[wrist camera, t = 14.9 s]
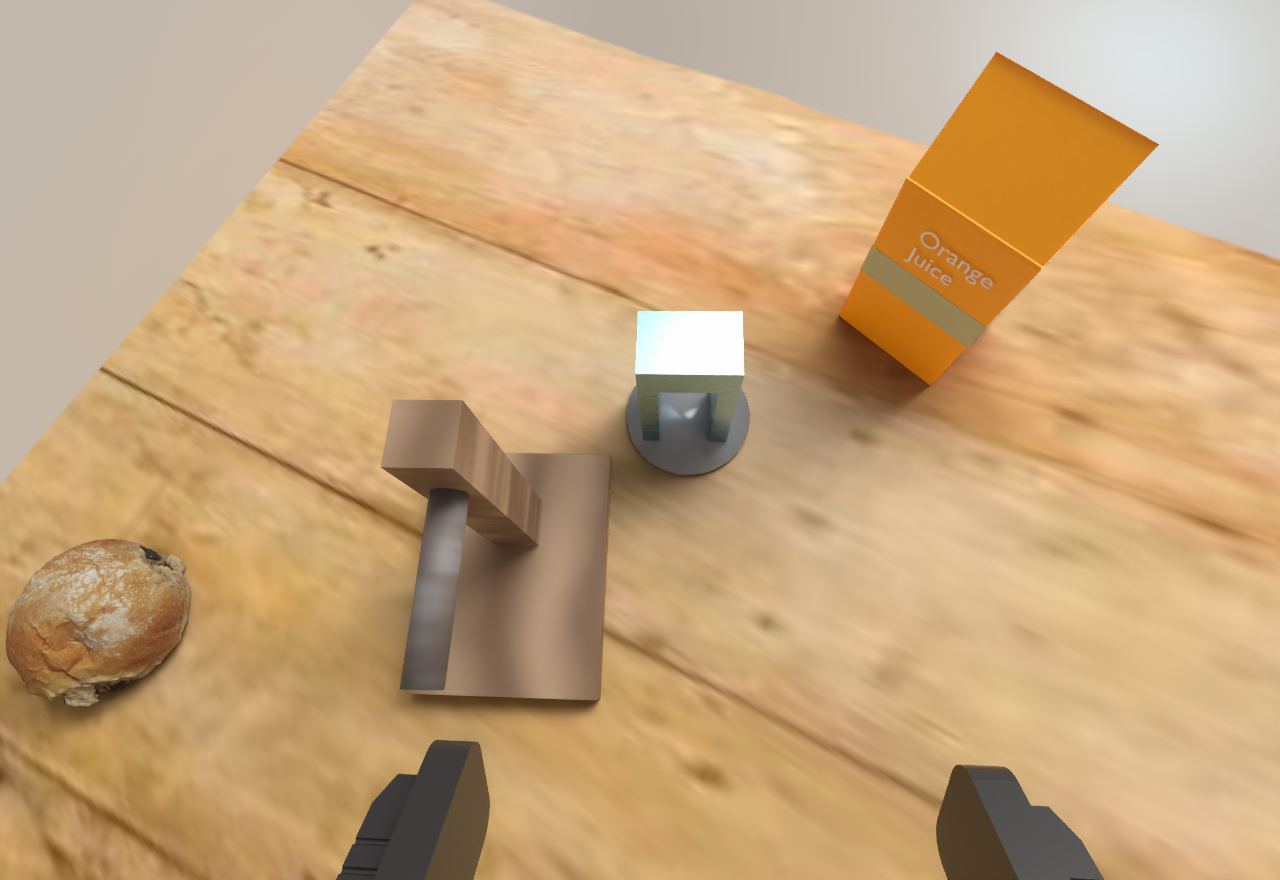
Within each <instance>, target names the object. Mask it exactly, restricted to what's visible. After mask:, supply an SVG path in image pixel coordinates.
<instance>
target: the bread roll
mask: <svg viewBox="0 0 1280 880" xmlns="http://www.w3.org/2000/svg"><path fill="white" fill-rule="evenodd" d="M185 569H186V567H185V565H184V564H183V563H182V561H181V560H180V559H179V558H178V557H176V556H174V555H172V554H170V555H169V557H168V558H166V557H164V556H163V555H161V554H159V553H156V552H154V551H153V550H151V549H148V548H146V547H145V546H143V545H141V544H138V543H134V542H130V541H125V540H117V539H106V540H96V541H91V542H87V543H84V544H81V545H79V546H76V547H74V548H72V549H69V550H68V551H65V552H64V553H62V554H60V555H58V556H56V557H54V558H53V559H52V560H50V561H49V562H48V563H47V564H45V565H44V566H43V567H42V569H41V570H39V571H37V572H36V573H34V575H33V576H32V578H31V579H30V581H29V583H28V585H27V586H26V587H25V589H24V590H23V591H22V593H21V594H20V596H19V597H18V599H17V600H16V601H15V603H14V605H13V607H12V610H11V612H10V615H9V619H8V624H7V637H6V651H7V656H8V659H9V661H10V663H11V664H12V665H13V667H14V668H15V669H16V670H17V672H18V673H19V675H20V676H21V677H22V680H23V681H24V682H25V684H26V688H27V692H28V693H29V694H34V695H38V696H42V697H45V698H46V699H48V700H50V701H54V700H56V699H59V698H63V697H64V702H65V703H66V704H67V705H70V706H73V707H75V706H90V705H91V704H94V703H97V702H98V701H99V700H98V699H97V698H98V694H99V693H100V692H106V691H109V692H120V691H122V690H123V689H124V688H125V687H126V686H127V685H129V684H130V683H131V682H132V681H133V680H136V679H139V678H143V677H145V676H147V675H148V674H149V673H150V672H151V671H152V670H153V669H154V668H155V667H156V666H157V665H159V664H161V662H162V660H163V659H164V658H165V657H166V656H167V654H168V653H169V652H170V651H171V650H172V649H173V648H174V647H175V646H176V644H177V643H178V642H179V640H180V639H181V633H182V631H183V630H184V627H185V624H186V623H187V621H188V619H187V615H188V608H189V601H190V588H189V585H188V583H187V581H186V579H185V578H184V577H183V572H184V570H185Z"/></svg>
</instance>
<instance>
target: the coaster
mask: <svg viewBox="0 0 1280 880" xmlns="http://www.w3.org/2000/svg"><path fill="white" fill-rule="evenodd" d="M749 416H750V415H749V407H748V403H747V399H746V397H745V394H744V392H743V391H742V389H741V388H740V392H739V396H738V400H737V403H736V407H735V411H734V415H733V418H732V422H731V426H730V430H729V433H728V437H727V441H726V442H710V440H709V393H661V403H660V441H643V436H642V427H641V418H640V409H639V400H638V391H637V385H636V387H635V388H634V390H633V392H632V394H631V396H630V399H629V403H628V406H627V425H628V430H629V434H630V437H631V440H632V442H633V444H634V446H635V447H636V449H637V450H638V452H639V453H640V454H641V455H642V456H643V457H644V458H645V459H646V460H647V461H648V462H649V463H651V464H652V465H654V466H655V467H657V468H659V469H661V470H663V471H666V472H669V473H672V474H677V475H686V476H690V475H700V474H705V473H708V472H711V471H713V470H716V469H718V468H720V467H721V466H723V465H724V464H726V463H727V462H728V461H729V460H731V459H732V458H733V457H734V456H735V454H736V453H737V452H738V451H739V449H740V448H741V446H742V444H743V442H744V440H745V437H746V434H747V431H748V427H749Z"/></svg>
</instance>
